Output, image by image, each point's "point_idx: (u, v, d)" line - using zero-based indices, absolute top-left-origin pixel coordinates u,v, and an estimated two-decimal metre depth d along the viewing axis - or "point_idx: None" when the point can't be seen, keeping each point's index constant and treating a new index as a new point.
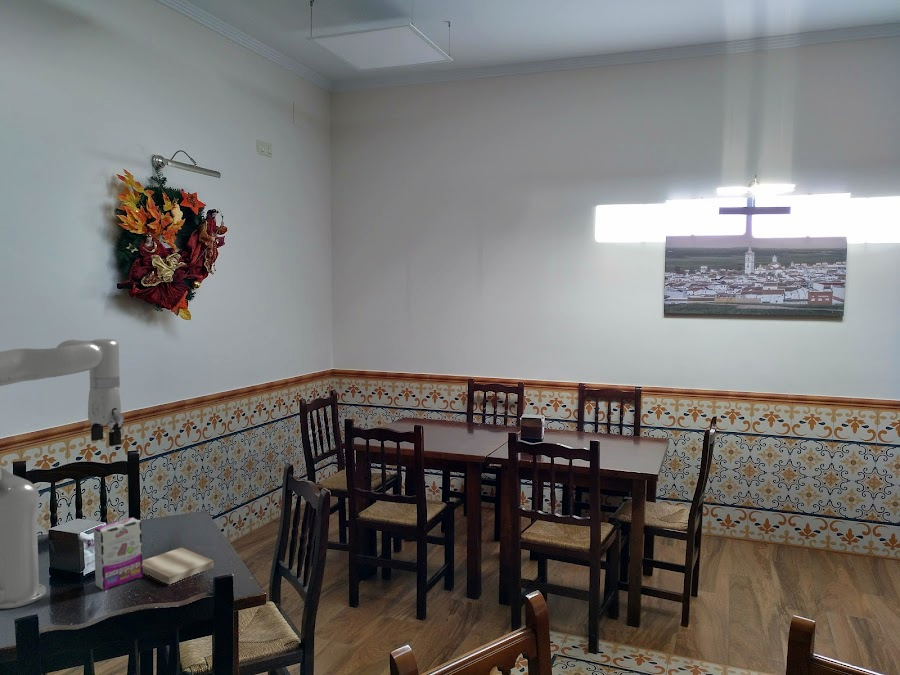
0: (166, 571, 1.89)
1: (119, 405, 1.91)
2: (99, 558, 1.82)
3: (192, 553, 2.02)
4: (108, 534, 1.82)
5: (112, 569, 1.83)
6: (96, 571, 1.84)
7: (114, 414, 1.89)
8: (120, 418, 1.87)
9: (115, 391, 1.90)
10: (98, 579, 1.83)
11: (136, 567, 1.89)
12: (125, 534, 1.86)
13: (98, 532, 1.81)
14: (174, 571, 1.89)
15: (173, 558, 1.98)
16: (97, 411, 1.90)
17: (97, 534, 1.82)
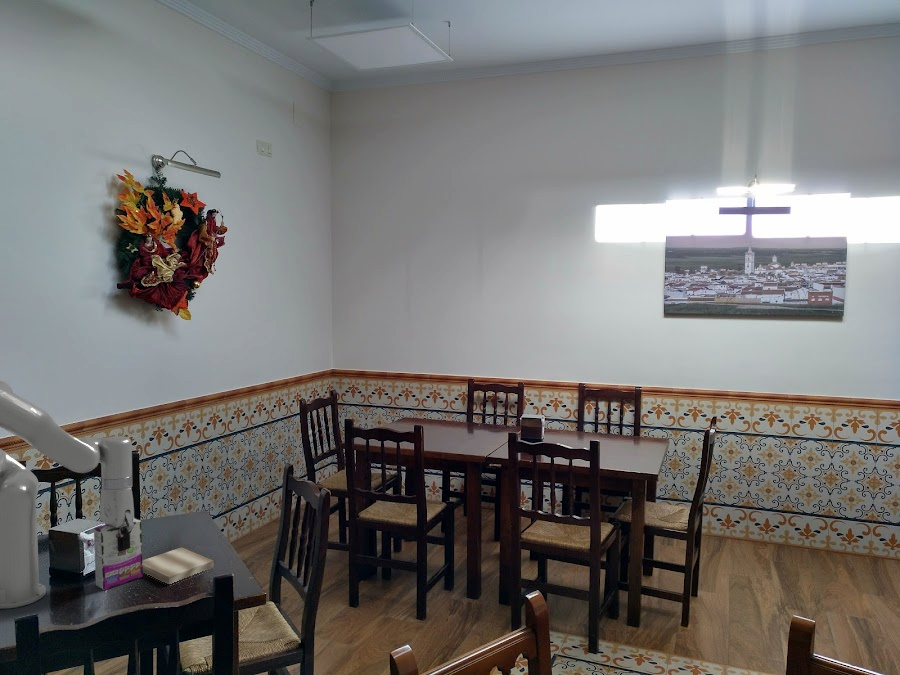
0: (165, 571, 1.89)
1: (132, 506, 1.84)
2: (99, 558, 1.82)
3: (192, 553, 2.02)
4: (108, 534, 1.82)
5: (113, 569, 1.83)
6: (96, 571, 1.84)
7: (125, 519, 1.82)
8: (131, 527, 1.82)
9: (128, 492, 1.83)
10: (98, 579, 1.83)
11: (136, 567, 1.89)
12: None
13: (98, 532, 1.81)
14: (174, 571, 1.89)
15: (173, 558, 1.98)
16: (109, 513, 1.83)
17: (97, 533, 1.82)
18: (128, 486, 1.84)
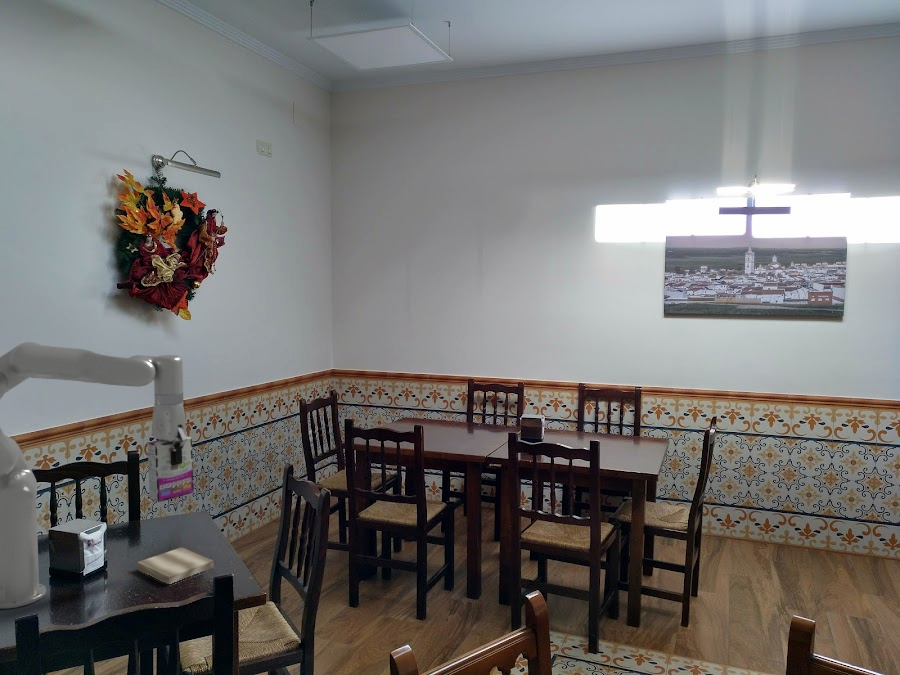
0: (165, 571, 1.89)
1: (184, 421, 1.90)
2: (154, 470, 1.88)
3: (192, 553, 2.02)
4: (161, 448, 1.88)
5: (166, 482, 1.90)
6: (150, 484, 1.90)
7: (178, 433, 1.89)
8: (184, 440, 1.88)
9: (180, 407, 1.89)
10: (152, 492, 1.89)
11: (187, 482, 1.95)
12: None
13: (152, 446, 1.87)
14: (174, 571, 1.89)
15: (173, 558, 1.98)
16: (162, 428, 1.89)
17: (151, 447, 1.88)
18: (180, 402, 1.90)
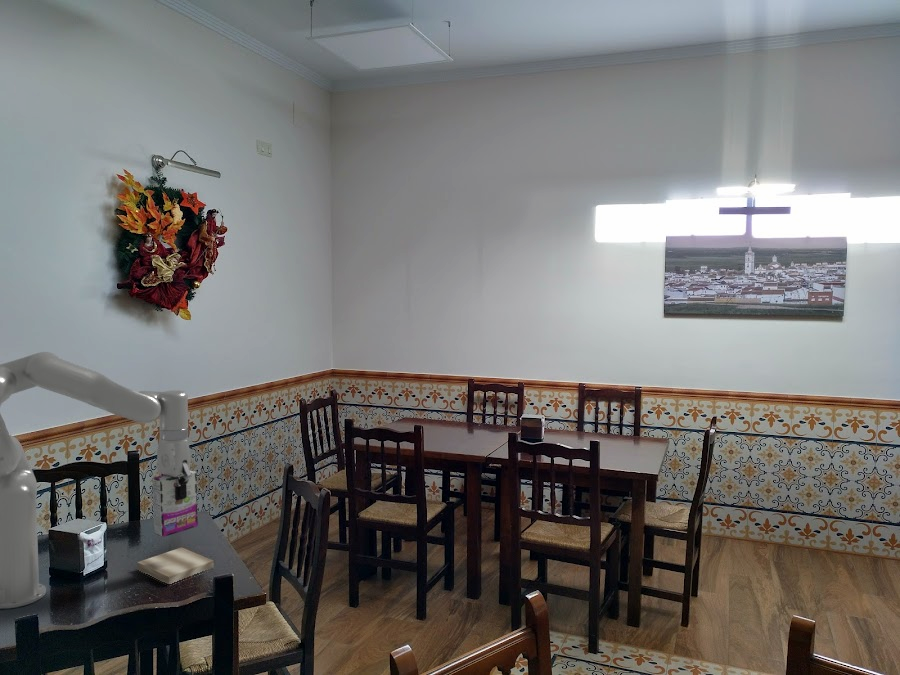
0: (165, 571, 1.89)
1: (189, 457, 1.92)
2: (158, 506, 1.89)
3: (192, 553, 2.02)
4: (166, 483, 1.89)
5: (171, 517, 1.91)
6: (155, 519, 1.91)
7: (183, 469, 1.90)
8: (188, 476, 1.89)
9: (185, 443, 1.91)
10: (157, 526, 1.91)
11: (192, 516, 1.96)
12: None
13: (157, 481, 1.89)
14: (174, 571, 1.89)
15: (173, 558, 1.98)
16: (167, 463, 1.91)
17: (156, 482, 1.89)
18: (185, 438, 1.92)
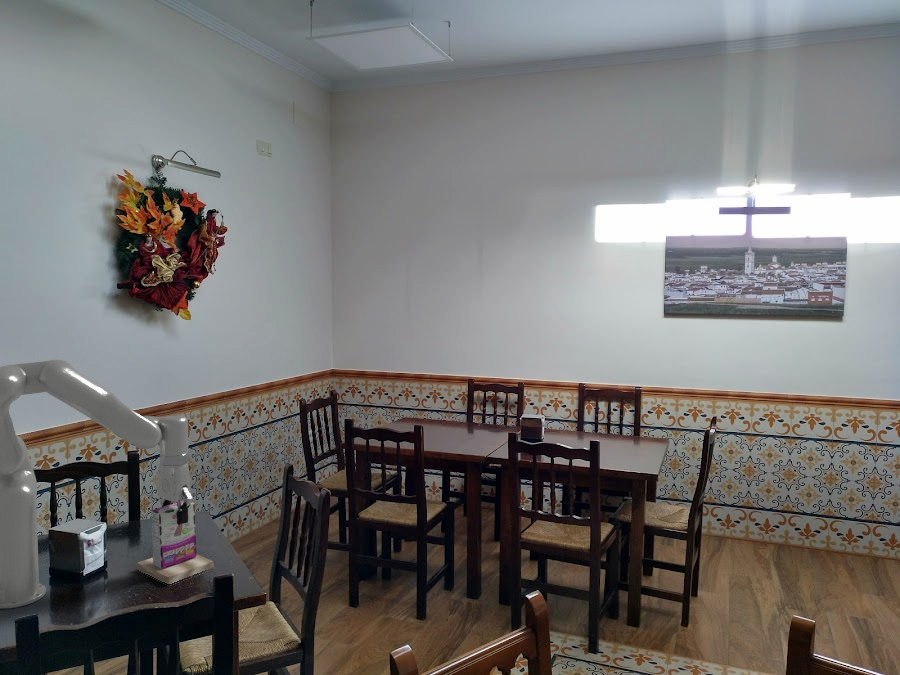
0: (165, 572, 1.89)
1: (189, 482, 1.92)
2: (157, 538, 1.90)
3: None
4: (165, 516, 1.90)
5: (170, 549, 1.92)
6: (154, 551, 1.92)
7: (184, 493, 1.90)
8: (190, 499, 1.89)
9: (185, 468, 1.91)
10: (156, 559, 1.91)
11: (190, 547, 1.97)
12: None
13: (156, 514, 1.90)
14: (174, 571, 1.89)
15: None
16: (167, 488, 1.91)
17: (155, 515, 1.90)
18: (185, 463, 1.92)
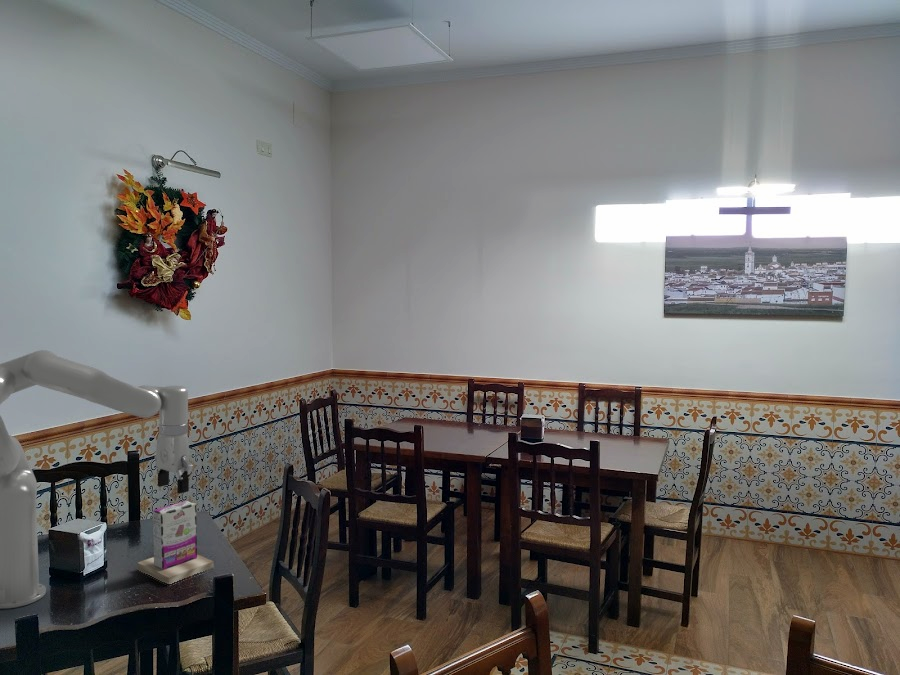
0: (165, 572, 1.89)
1: (188, 452, 1.91)
2: (159, 538, 1.90)
3: None
4: (167, 516, 1.90)
5: (171, 549, 1.91)
6: (155, 551, 1.92)
7: (183, 462, 1.89)
8: (190, 466, 1.88)
9: (184, 438, 1.91)
10: (157, 559, 1.91)
11: (191, 548, 1.97)
12: (182, 516, 1.94)
13: (158, 514, 1.89)
14: (174, 571, 1.89)
15: None
16: (166, 458, 1.90)
17: (157, 515, 1.90)
18: (184, 433, 1.92)
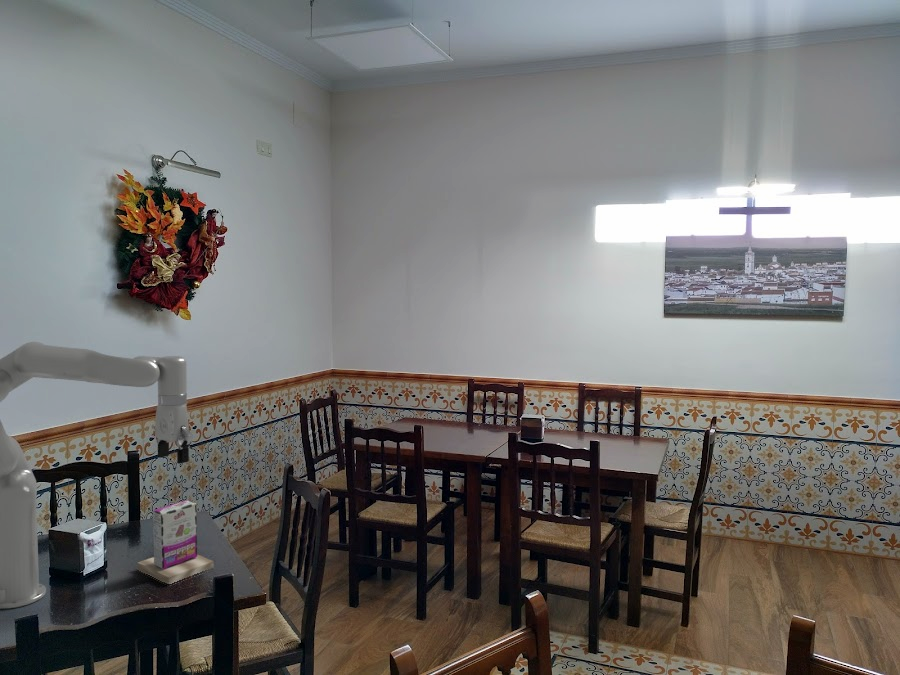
0: (165, 572, 1.89)
1: (187, 422, 1.91)
2: (159, 539, 1.90)
3: None
4: (167, 516, 1.90)
5: (171, 549, 1.91)
6: (155, 551, 1.92)
7: (183, 431, 1.89)
8: (189, 435, 1.88)
9: (183, 408, 1.90)
10: (157, 559, 1.91)
11: (191, 548, 1.97)
12: (183, 516, 1.94)
13: (158, 514, 1.89)
14: (174, 571, 1.89)
15: None
16: (165, 428, 1.90)
17: (157, 516, 1.89)
18: (183, 403, 1.91)
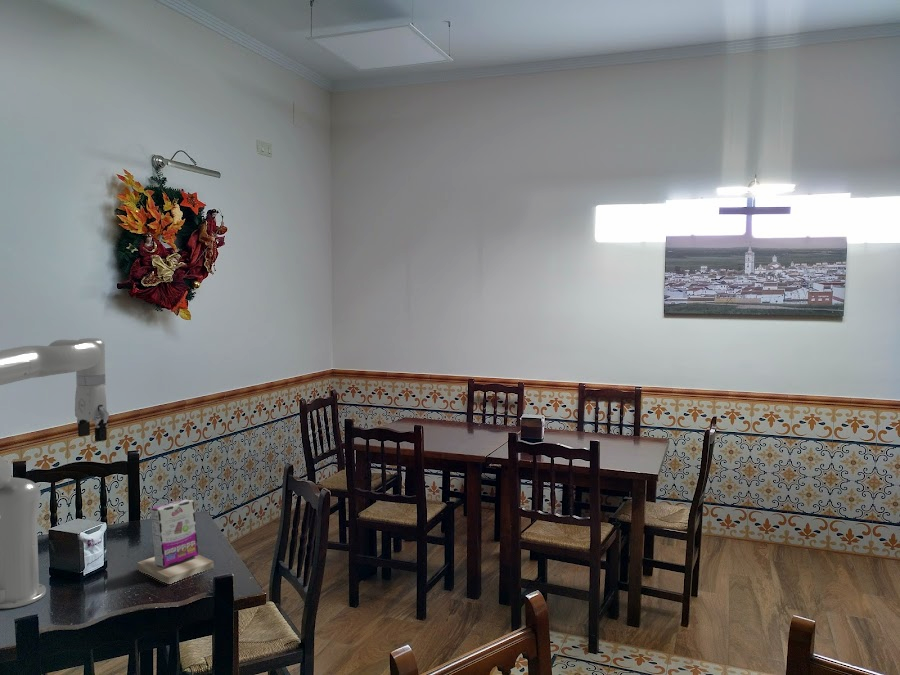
0: (165, 572, 1.89)
1: (105, 402, 1.98)
2: (158, 536, 1.91)
3: None
4: (164, 513, 1.91)
5: (171, 546, 1.92)
6: (155, 550, 1.92)
7: (100, 410, 1.95)
8: (105, 414, 1.94)
9: (101, 388, 1.97)
10: (157, 557, 1.92)
11: (192, 545, 1.97)
12: (180, 512, 1.95)
13: (155, 511, 1.91)
14: (174, 571, 1.89)
15: None
16: (83, 408, 1.97)
17: (154, 513, 1.91)
18: (101, 383, 1.98)
